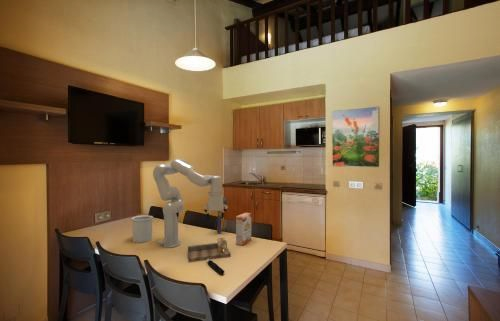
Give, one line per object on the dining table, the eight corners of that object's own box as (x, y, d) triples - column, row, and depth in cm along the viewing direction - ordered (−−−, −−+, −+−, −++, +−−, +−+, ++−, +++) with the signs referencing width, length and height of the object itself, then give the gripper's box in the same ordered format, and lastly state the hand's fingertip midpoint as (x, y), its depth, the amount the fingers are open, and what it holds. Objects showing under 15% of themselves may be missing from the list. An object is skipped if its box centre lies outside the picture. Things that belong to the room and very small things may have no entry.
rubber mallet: (216, 235, 191) (215, 199, 191) (210, 233, 196) (210, 198, 196) (227, 232, 200) (227, 197, 200) (222, 230, 205) (221, 196, 205)
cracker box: (243, 246, 168) (242, 217, 168) (235, 244, 170) (235, 216, 170) (251, 240, 180) (251, 212, 180) (245, 238, 183) (244, 212, 183)
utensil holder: (142, 235, 193) (142, 214, 193) (157, 237, 188) (156, 215, 188) (127, 241, 180) (127, 218, 179) (142, 244, 174) (142, 220, 174)
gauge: (220, 254, 148) (220, 243, 148) (217, 248, 159) (217, 238, 159) (227, 253, 150) (227, 242, 150) (224, 247, 160) (224, 237, 160)
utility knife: (203, 262, 143) (203, 257, 143) (209, 260, 145) (209, 255, 145) (220, 276, 125) (220, 270, 125) (227, 274, 127) (226, 268, 127)
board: (188, 262, 142) (188, 253, 142) (187, 253, 156) (187, 245, 156) (230, 256, 150) (230, 248, 150) (226, 248, 163) (226, 241, 163)
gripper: (203, 194, 155) (202, 220, 155) (229, 194, 160) (228, 219, 160) (202, 193, 162) (201, 217, 163) (227, 192, 167) (226, 216, 167)
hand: (215, 218), depth 161 cm, fingers open, 9 cm apart
